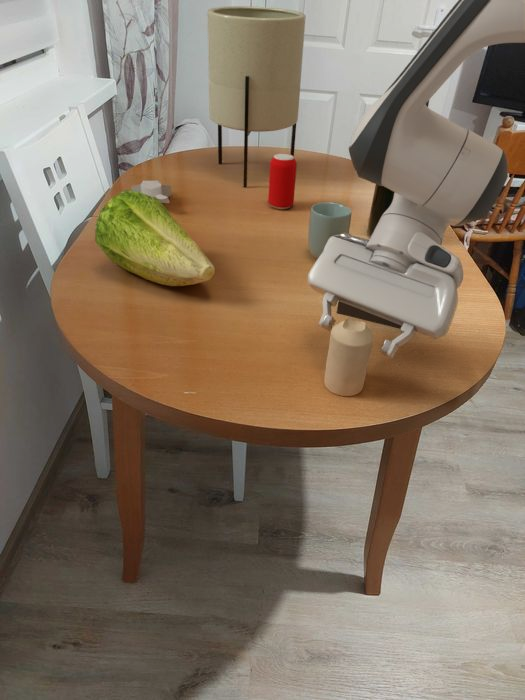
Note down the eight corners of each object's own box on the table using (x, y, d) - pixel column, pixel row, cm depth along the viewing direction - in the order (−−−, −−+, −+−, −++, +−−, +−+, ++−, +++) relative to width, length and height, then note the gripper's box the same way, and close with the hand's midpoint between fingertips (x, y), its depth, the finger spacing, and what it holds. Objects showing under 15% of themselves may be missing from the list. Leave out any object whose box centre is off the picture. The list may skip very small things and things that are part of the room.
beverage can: (294, 211, 125) (298, 160, 118) (268, 210, 124) (271, 159, 117) (291, 202, 130) (295, 152, 122) (267, 201, 129) (269, 152, 122)
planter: (201, 187, 138) (195, 14, 114) (220, 157, 157) (218, 3, 133) (288, 195, 137) (301, 21, 112) (296, 164, 155) (309, 9, 131)
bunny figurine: (169, 176, 129) (172, 189, 116) (171, 197, 131) (174, 212, 118) (130, 177, 127) (129, 190, 114) (132, 198, 130) (131, 213, 117)
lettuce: (241, 292, 94) (177, 329, 85) (156, 240, 106) (92, 269, 97) (242, 220, 84) (170, 254, 76) (148, 172, 96) (77, 197, 87)
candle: (316, 376, 73) (325, 316, 67) (350, 368, 75) (361, 309, 69) (335, 400, 69) (346, 339, 63) (370, 391, 71) (384, 331, 65)
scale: (420, 292, 95) (423, 278, 93) (407, 330, 84) (411, 315, 83) (356, 277, 98) (358, 264, 97) (336, 312, 88) (338, 298, 86)
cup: (331, 246, 109) (337, 200, 103) (351, 261, 104) (359, 213, 98) (299, 251, 106) (303, 204, 100) (318, 268, 101) (324, 219, 95)
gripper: (328, 218, 72) (282, 306, 71) (473, 264, 62) (421, 366, 62) (340, 239, 77) (297, 320, 77) (474, 283, 68) (427, 377, 67)
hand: (353, 341), depth 69 cm, fingers open, 8 cm apart
